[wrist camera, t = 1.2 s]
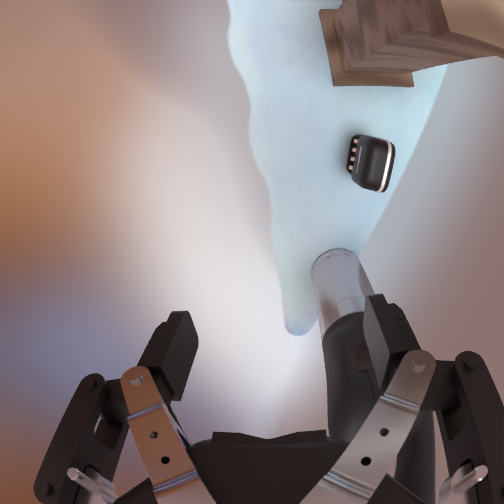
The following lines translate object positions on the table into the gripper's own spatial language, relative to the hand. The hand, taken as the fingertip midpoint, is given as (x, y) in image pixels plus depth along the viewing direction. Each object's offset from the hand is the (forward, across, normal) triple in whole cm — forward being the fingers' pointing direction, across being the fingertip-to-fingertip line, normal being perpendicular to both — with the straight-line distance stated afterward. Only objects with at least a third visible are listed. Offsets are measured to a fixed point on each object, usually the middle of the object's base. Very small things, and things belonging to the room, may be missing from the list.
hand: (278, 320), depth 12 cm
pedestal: (+34, +17, +19) cm, 43 cm away
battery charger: (+34, +12, +2) cm, 37 cm away
